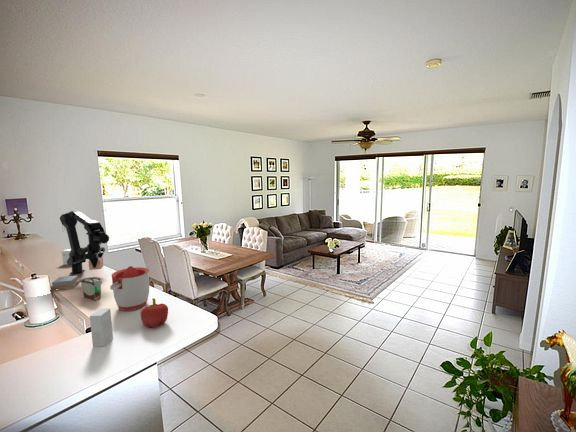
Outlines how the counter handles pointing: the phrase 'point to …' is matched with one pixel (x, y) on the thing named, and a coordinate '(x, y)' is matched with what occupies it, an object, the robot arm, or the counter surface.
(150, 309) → the vegetable
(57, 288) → the walnut slab
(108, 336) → the skincare box
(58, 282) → the grey slab
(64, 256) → the small box
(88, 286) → the food container
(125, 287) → the citrus juicer
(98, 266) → the terracotta block
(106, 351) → the counter surface
